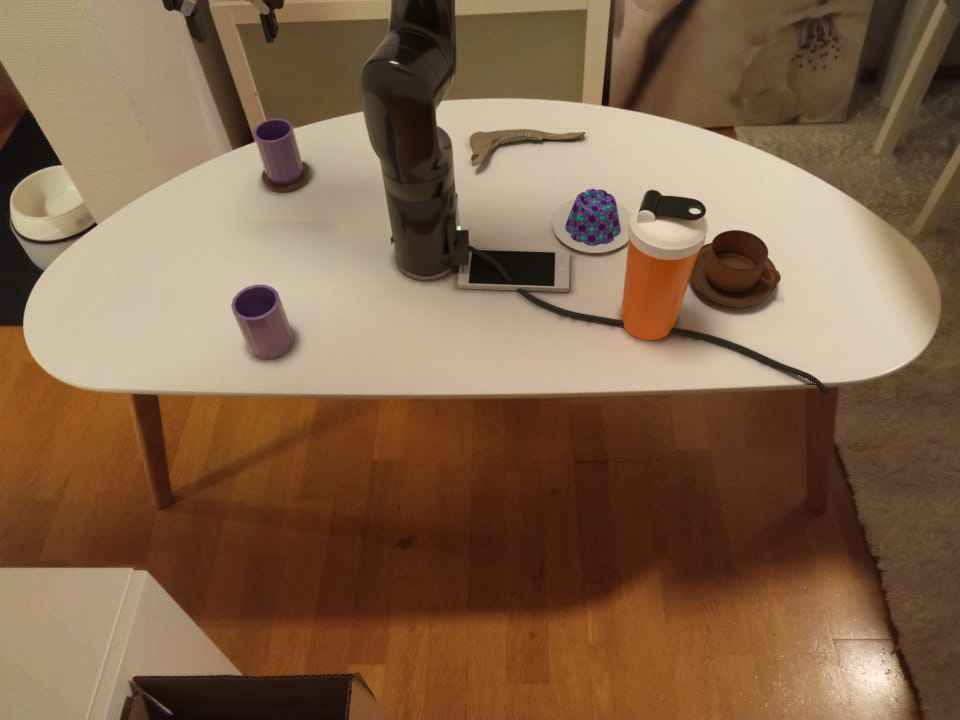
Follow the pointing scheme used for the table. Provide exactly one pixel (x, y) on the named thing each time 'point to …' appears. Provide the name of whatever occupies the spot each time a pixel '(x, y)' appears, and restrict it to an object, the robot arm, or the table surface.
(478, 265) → the smartphone
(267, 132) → the cup
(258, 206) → the table surface
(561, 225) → the pudding
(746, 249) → the cup and saucer
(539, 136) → the jawbone
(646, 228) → the shaker bottle
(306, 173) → the coaster
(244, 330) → the cup
